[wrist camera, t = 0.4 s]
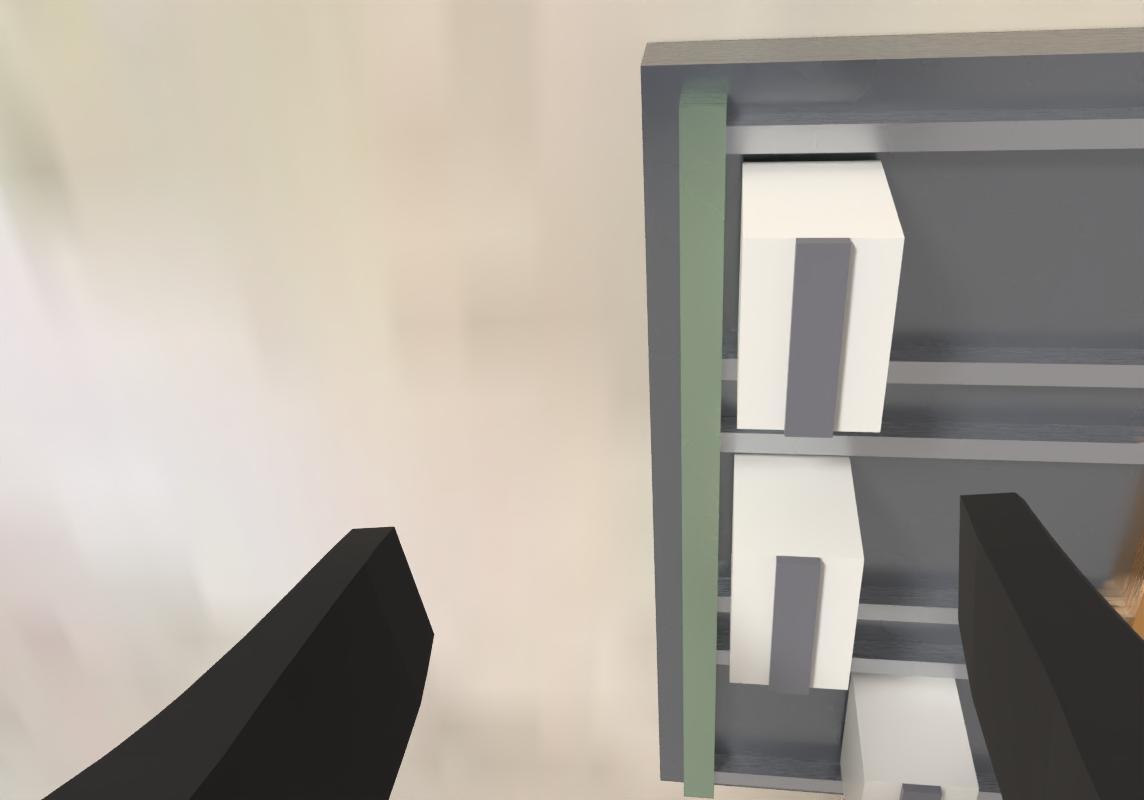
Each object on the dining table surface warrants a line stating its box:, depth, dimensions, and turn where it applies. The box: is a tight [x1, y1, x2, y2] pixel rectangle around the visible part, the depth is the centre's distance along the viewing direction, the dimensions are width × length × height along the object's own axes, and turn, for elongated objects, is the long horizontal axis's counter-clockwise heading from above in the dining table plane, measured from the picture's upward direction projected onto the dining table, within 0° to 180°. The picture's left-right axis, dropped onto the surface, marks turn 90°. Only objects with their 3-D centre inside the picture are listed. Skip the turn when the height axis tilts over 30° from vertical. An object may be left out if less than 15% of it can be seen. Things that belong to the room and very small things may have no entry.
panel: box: [641, 28, 1144, 800], centre depth 23 cm, size 14×20×2 cm
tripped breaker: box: [840, 672, 979, 800], centre depth 24 cm, size 2×4×3 cm, turn 3°
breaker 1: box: [737, 160, 905, 438], centre depth 18 cm, size 2×4×3 cm, turn 4°
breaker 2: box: [730, 452, 864, 695], centre depth 21 cm, size 2×4×3 cm, turn 3°
